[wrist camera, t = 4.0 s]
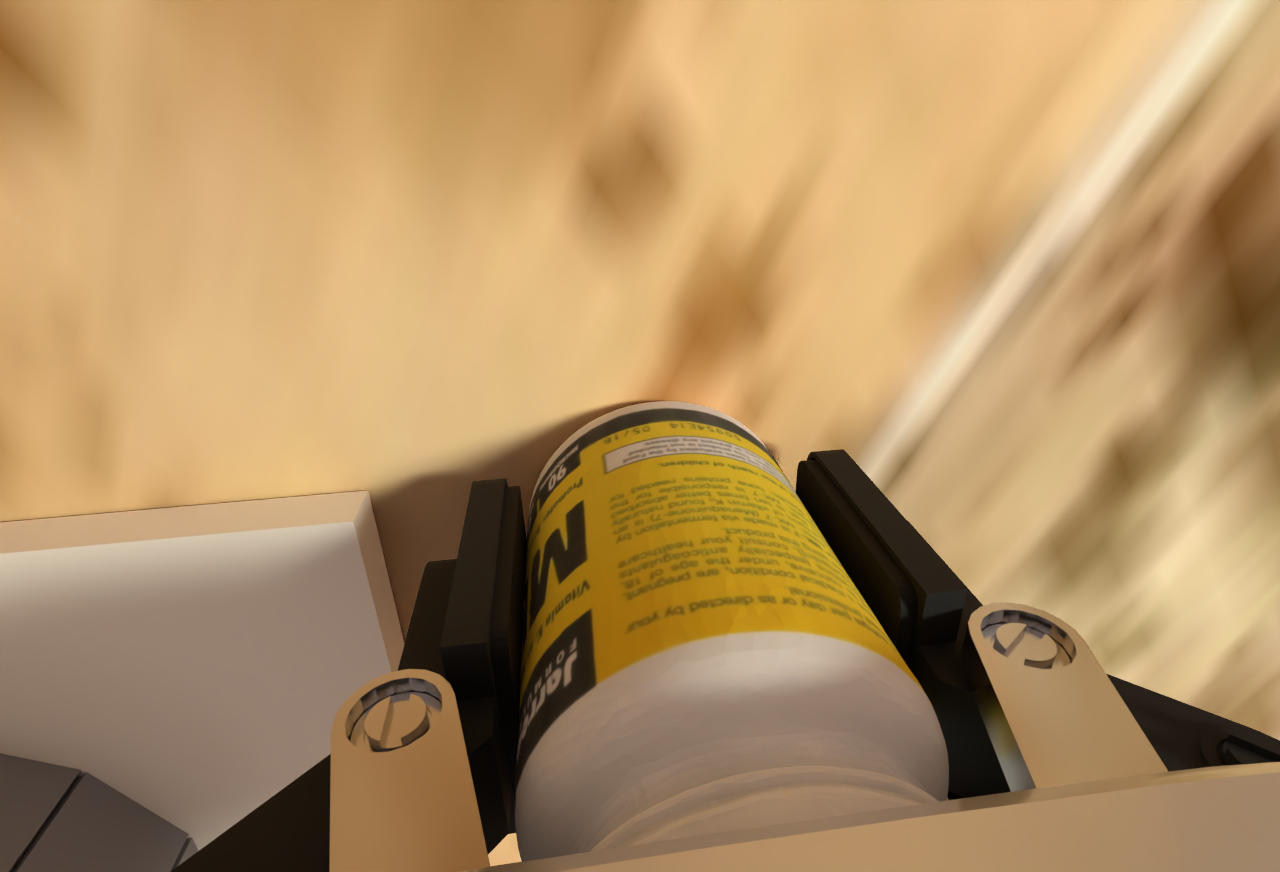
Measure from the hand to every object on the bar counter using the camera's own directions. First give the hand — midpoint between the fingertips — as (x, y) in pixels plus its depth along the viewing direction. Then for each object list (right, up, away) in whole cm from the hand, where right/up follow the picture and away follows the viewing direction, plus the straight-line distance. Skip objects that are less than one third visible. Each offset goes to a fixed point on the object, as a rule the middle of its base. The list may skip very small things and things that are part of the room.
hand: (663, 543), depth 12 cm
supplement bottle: (0, 0, +1) cm, 1 cm away
